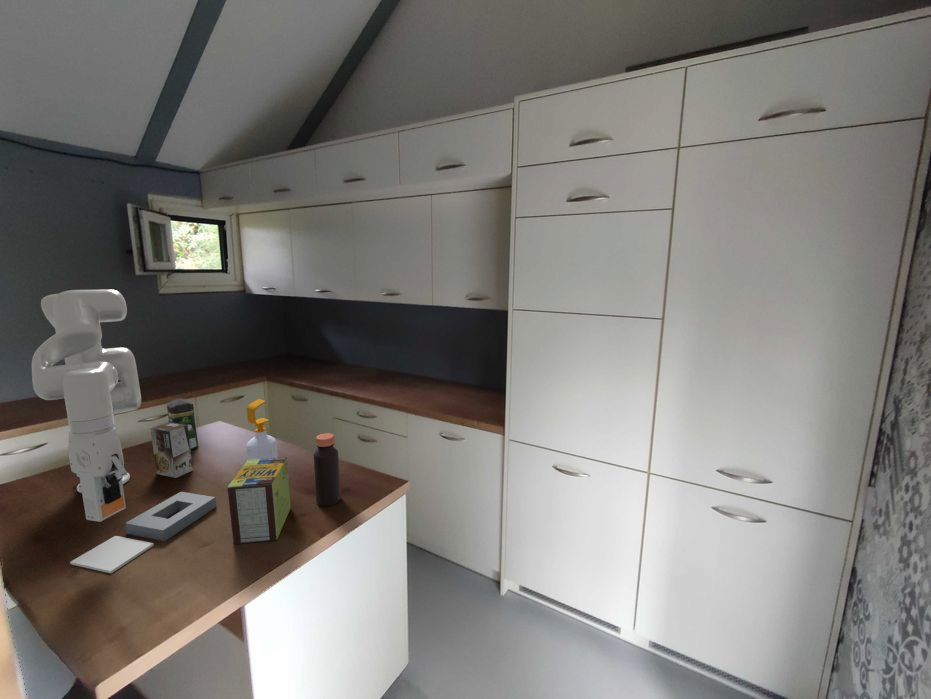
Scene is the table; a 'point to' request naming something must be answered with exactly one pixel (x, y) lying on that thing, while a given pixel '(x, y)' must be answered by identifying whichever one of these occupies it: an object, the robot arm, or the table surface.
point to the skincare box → (98, 498)
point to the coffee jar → (183, 417)
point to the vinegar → (326, 471)
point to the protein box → (259, 500)
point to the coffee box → (171, 449)
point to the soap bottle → (260, 436)
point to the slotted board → (162, 528)
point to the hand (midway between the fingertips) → (104, 498)
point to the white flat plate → (112, 554)
